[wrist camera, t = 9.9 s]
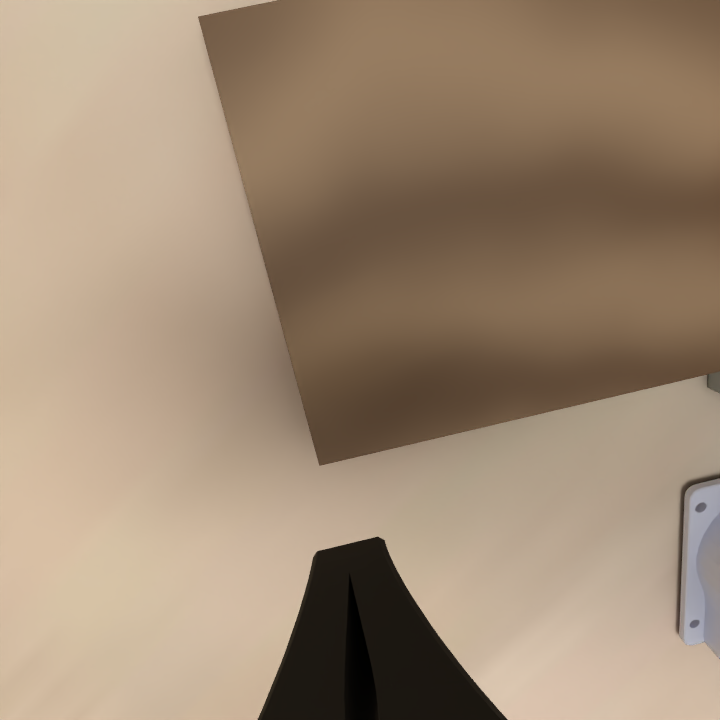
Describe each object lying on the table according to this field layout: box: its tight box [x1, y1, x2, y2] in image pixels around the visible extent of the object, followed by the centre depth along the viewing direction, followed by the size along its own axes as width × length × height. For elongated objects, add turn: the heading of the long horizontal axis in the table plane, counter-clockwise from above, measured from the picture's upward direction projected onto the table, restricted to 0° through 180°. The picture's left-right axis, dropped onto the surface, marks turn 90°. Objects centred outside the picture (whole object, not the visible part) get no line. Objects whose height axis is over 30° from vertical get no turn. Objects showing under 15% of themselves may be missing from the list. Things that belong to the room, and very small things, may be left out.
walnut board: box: [198, 0, 720, 465], centre depth 16 cm, size 14×16×2 cm
